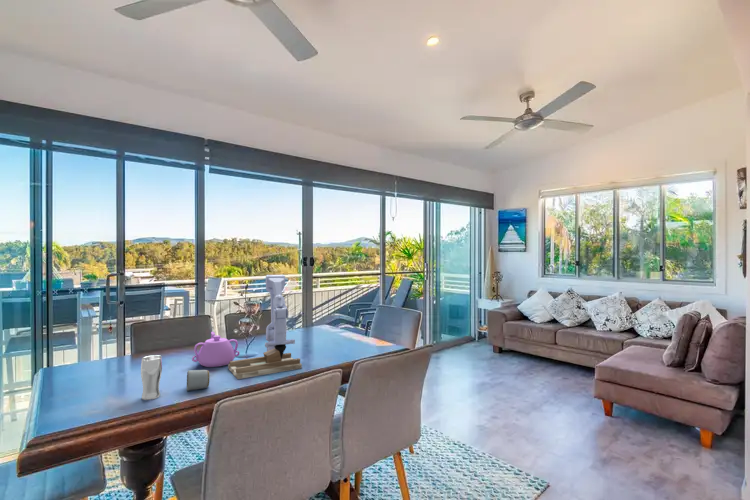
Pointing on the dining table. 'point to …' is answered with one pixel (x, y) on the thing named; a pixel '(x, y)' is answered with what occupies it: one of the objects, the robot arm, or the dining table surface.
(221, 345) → the purple sugar bowl
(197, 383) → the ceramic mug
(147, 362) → the beer glass
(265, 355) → the walnut block
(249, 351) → the dining table surface
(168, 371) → the dining table surface
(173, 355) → the dining table surface
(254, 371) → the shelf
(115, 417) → the dining table surface
